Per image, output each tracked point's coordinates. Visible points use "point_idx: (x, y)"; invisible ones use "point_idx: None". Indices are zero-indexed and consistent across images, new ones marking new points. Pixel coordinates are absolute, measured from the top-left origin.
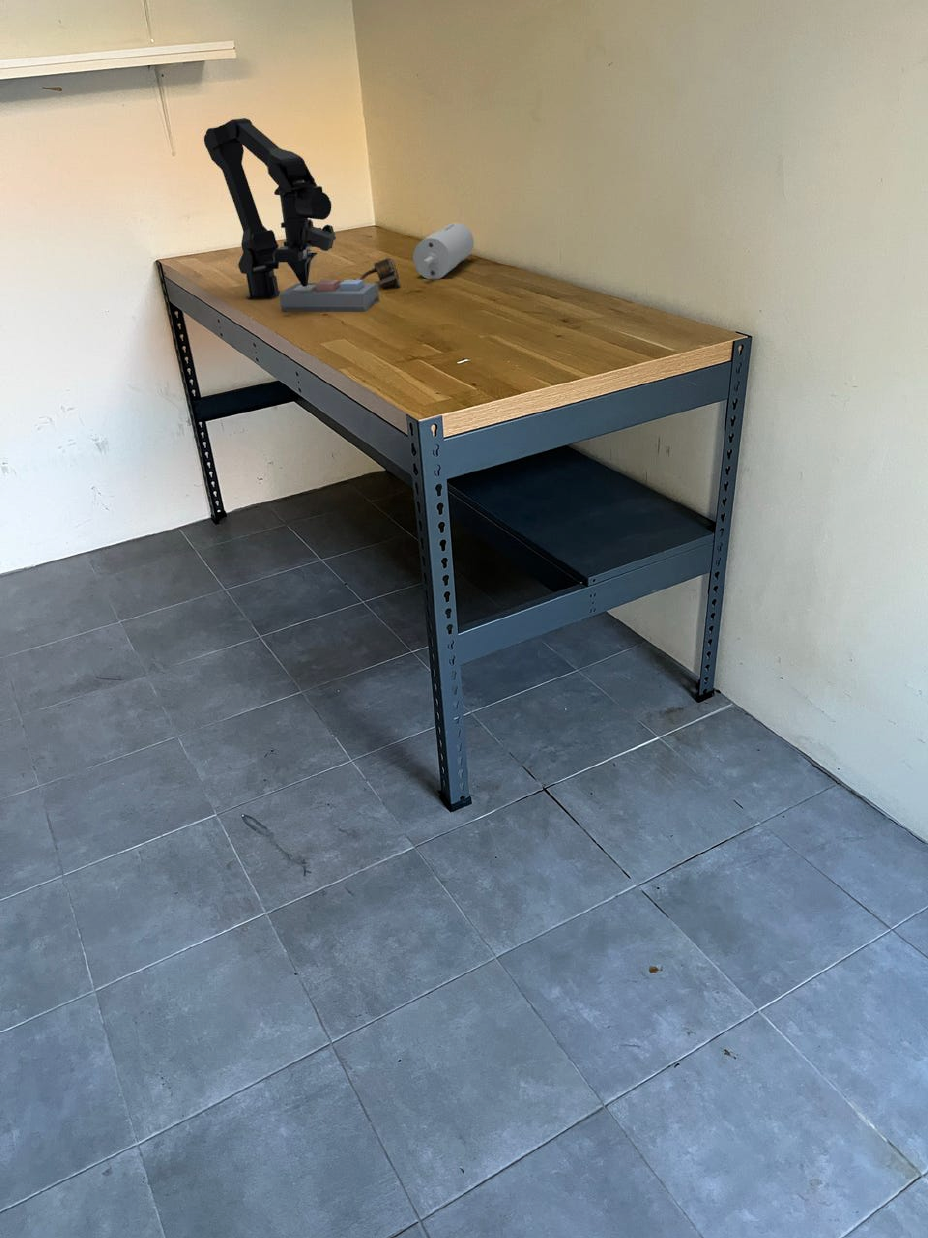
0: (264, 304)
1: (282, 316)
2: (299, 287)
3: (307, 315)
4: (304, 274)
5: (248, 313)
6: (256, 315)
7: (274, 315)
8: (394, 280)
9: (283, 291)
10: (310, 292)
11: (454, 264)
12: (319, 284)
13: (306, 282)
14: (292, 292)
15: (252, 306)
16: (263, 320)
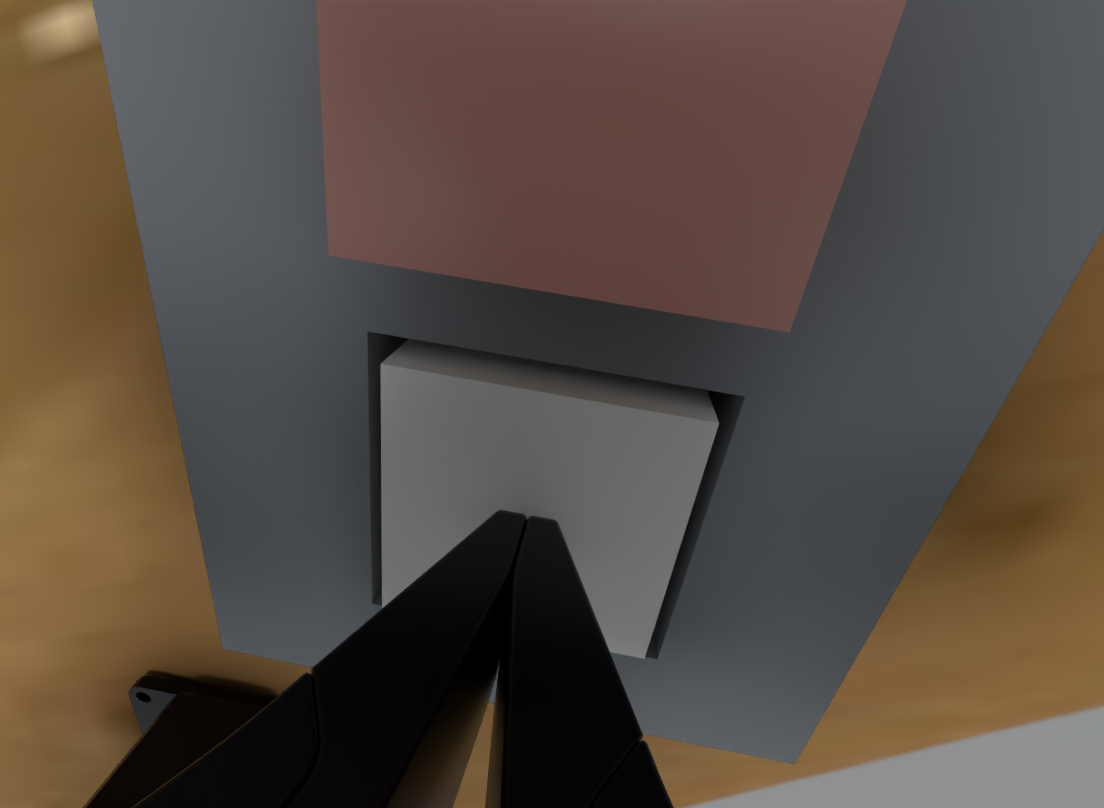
0: (480, 725)
1: (988, 567)
2: None
3: (1091, 314)
4: (629, 719)
5: (749, 787)
6: (841, 743)
7: (905, 632)
8: None
9: (667, 732)
10: (881, 387)
11: None
12: (818, 232)
13: (562, 550)
14: (766, 641)
15: None
16: (1071, 689)
